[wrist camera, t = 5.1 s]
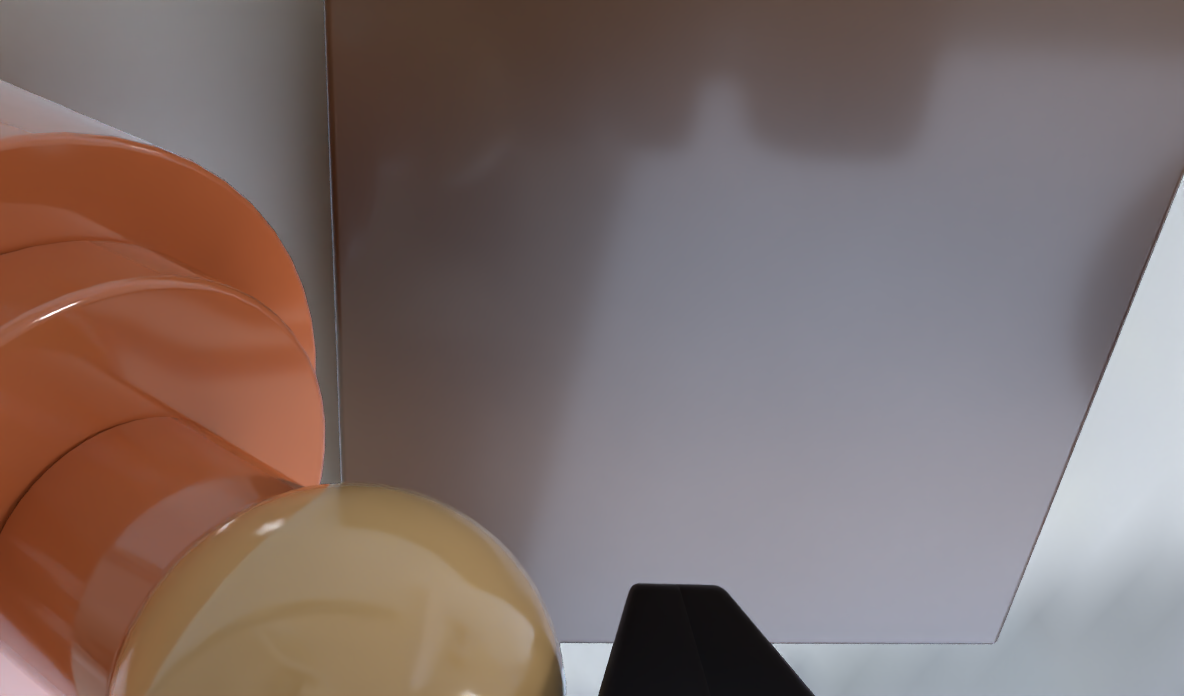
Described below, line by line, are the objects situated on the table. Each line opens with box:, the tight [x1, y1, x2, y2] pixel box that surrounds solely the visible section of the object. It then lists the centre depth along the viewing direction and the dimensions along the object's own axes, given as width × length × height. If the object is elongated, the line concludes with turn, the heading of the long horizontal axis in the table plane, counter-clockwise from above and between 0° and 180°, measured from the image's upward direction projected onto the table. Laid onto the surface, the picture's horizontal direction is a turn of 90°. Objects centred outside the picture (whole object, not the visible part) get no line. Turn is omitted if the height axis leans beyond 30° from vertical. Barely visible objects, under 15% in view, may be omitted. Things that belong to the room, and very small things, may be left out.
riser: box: [324, 0, 1184, 644], centre depth 14 cm, size 12×10×2 cm
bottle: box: [0, 79, 566, 696], centre depth 10 cm, size 11×6×8 cm, turn 86°
